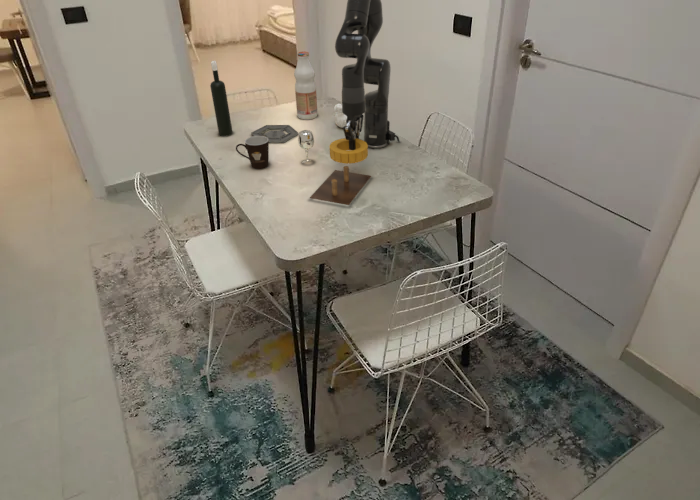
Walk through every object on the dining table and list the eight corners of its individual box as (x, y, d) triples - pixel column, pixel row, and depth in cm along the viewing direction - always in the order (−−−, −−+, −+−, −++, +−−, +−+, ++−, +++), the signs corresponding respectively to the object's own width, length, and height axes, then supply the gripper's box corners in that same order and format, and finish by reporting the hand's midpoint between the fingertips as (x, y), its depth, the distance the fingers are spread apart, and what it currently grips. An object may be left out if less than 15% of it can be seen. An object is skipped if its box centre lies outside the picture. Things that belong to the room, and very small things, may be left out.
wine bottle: (235, 132, 211) (223, 60, 194) (226, 137, 207) (213, 63, 190) (225, 130, 214) (213, 58, 196) (216, 134, 210) (202, 61, 192)
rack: (335, 172, 179) (334, 156, 175) (371, 178, 174) (371, 162, 171) (309, 200, 162) (308, 183, 159) (348, 207, 158) (348, 190, 154)
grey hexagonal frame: (255, 126, 216) (254, 125, 215) (300, 126, 215) (300, 124, 215) (247, 142, 202) (247, 140, 201) (295, 142, 201) (295, 140, 201)
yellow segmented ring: (354, 144, 175) (354, 135, 173) (374, 157, 166) (375, 147, 164) (323, 153, 169) (322, 143, 167) (342, 167, 161) (342, 156, 159)
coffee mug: (275, 162, 186) (273, 137, 180) (263, 172, 180) (260, 146, 174) (250, 157, 190) (246, 133, 184) (237, 166, 184) (233, 141, 178)
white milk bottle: (296, 120, 222) (291, 55, 206) (297, 112, 230) (292, 50, 214) (317, 119, 222) (313, 55, 206) (317, 112, 230) (314, 49, 214)
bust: (336, 126, 221) (321, 110, 213) (348, 114, 220) (333, 97, 213) (349, 135, 212) (334, 118, 204) (361, 122, 212) (346, 105, 204)
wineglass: (313, 166, 183) (311, 136, 176) (298, 165, 184) (295, 135, 177) (317, 159, 188) (315, 129, 181) (302, 158, 189) (300, 129, 182)
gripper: (356, 107, 155) (357, 157, 165) (371, 93, 165) (370, 141, 175) (334, 104, 157) (336, 154, 167) (350, 91, 168) (351, 138, 178)
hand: (354, 147), depth 171 cm, fingers closed on yellow segmented ring, 2 cm apart
